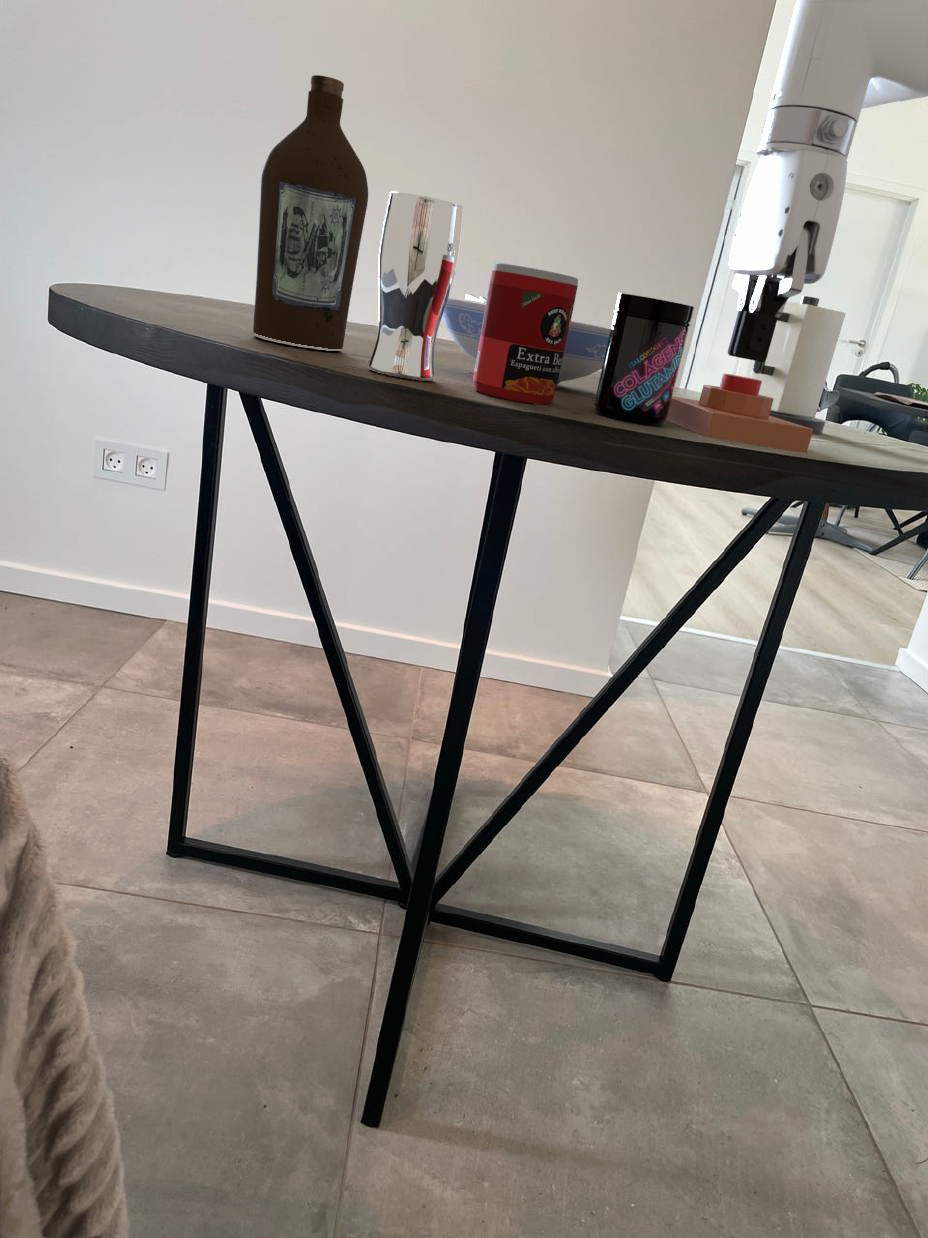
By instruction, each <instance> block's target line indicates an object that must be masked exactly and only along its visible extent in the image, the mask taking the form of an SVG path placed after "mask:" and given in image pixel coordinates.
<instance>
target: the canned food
mask: <svg viewBox="0 0 928 1238" xmlns="http://www.w3.org/2000/svg"><path fill="white" fill-rule="evenodd" d="M578 283H579V278H578V277H575V276H573V275H568V274H563V273H559V272H555V271H549V270H543V269H538V268H533V267H529V266H521V265H516V264H509V263H502V262H495V263H493V266H492V270H491V273H490V280H489V284H488V290H487V295H486V299H487V300H486V303H485V305H486V306H485V312H484V318H483V324H482V330H481V335H480V341H479V347H478V353H477V359H476V360H475V366H474V370H473V377H472V382H473V389H474V391H476V392H477V391H478V392H477V393H480V394H483V395H486V396H491V397H494V398H498V399H502V400H508V401H512V402H519V403H524V404H530V405H551V404H552V402H553V400H554V398H555V396H556V394H557V388H558V385H559V384H558V379H559V374H560V369H561V365H562V360H563V355H564V350H565V346H566V341H567V336H568V331H569V327H570V322H571V321H572V317H573V311H574V307H575V302H576V298H577V297H576V296H577V292H578V287H579V285H578Z"/></svg>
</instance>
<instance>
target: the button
mask: <svg viewBox="0 0 928 1238" xmlns="http://www.w3.org/2000/svg"><path fill="white" fill-rule="evenodd" d="M761 383H762V381H761V380H757V379H752V378H750V377H747V376H741V375H736V374H731V373H726V372H725V373H722V377H721V381H720V383H719V387H720V389H724V390H728V391H733V392H738V393H743V394H748V395H754V396H758V394H759V390H760V387H761Z"/></svg>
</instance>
